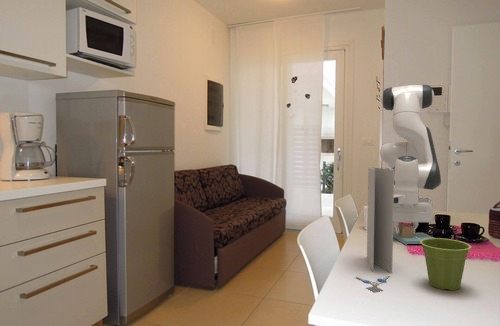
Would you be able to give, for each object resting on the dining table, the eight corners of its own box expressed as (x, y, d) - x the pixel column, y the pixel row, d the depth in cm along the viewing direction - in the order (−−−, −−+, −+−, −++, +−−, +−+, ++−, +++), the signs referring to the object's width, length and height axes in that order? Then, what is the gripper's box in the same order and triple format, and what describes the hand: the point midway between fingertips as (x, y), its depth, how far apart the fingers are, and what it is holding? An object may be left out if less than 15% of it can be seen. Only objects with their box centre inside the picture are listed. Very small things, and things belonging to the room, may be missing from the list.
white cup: (384, 231, 158) (385, 208, 157) (366, 231, 158) (366, 208, 157) (378, 227, 165) (379, 205, 165) (361, 227, 166) (361, 205, 165)
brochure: (392, 273, 106) (394, 169, 105) (372, 271, 107) (374, 169, 106) (384, 258, 120) (386, 167, 119) (366, 257, 121) (368, 166, 120)
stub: (390, 235, 150) (391, 222, 149) (405, 235, 150) (405, 222, 149) (405, 244, 136) (406, 230, 135) (422, 244, 136) (422, 230, 136)
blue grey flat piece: (381, 295, 91) (381, 292, 91) (348, 289, 95) (348, 286, 95) (390, 278, 103) (390, 275, 103) (360, 273, 107) (360, 270, 107)
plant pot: (425, 274, 105) (426, 235, 104) (473, 284, 97) (474, 242, 97) (413, 286, 96) (414, 244, 95) (465, 298, 88) (466, 252, 88)
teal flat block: (406, 236, 150) (406, 232, 150) (423, 236, 150) (423, 232, 150) (422, 245, 136) (422, 241, 136) (441, 245, 136) (441, 241, 136)
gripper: (428, 197, 145) (427, 231, 146) (377, 197, 145) (376, 231, 146) (436, 199, 139) (436, 235, 140) (383, 199, 139) (382, 235, 139)
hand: (405, 233), depth 143 cm, fingers closed on stub, 4 cm apart
